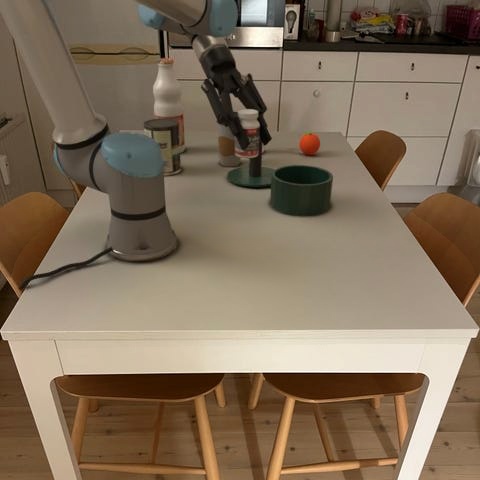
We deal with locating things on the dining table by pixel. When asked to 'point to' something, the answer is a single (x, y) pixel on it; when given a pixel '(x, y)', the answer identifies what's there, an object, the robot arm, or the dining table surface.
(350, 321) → the dining table surface
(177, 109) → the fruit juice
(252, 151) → the pill bottle
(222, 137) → the coffee cup
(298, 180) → the pot
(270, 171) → the pot lid
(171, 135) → the coffee can
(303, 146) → the clementine
